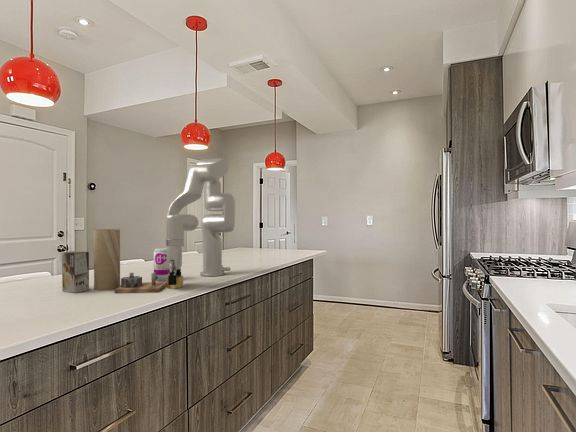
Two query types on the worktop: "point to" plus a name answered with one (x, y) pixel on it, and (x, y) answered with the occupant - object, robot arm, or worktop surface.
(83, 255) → the coffee box
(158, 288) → the gear board
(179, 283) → the brass gear
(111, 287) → the tube
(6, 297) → the worktop surface
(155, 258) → the supplement can
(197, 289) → the worktop surface
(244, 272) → the worktop surface
